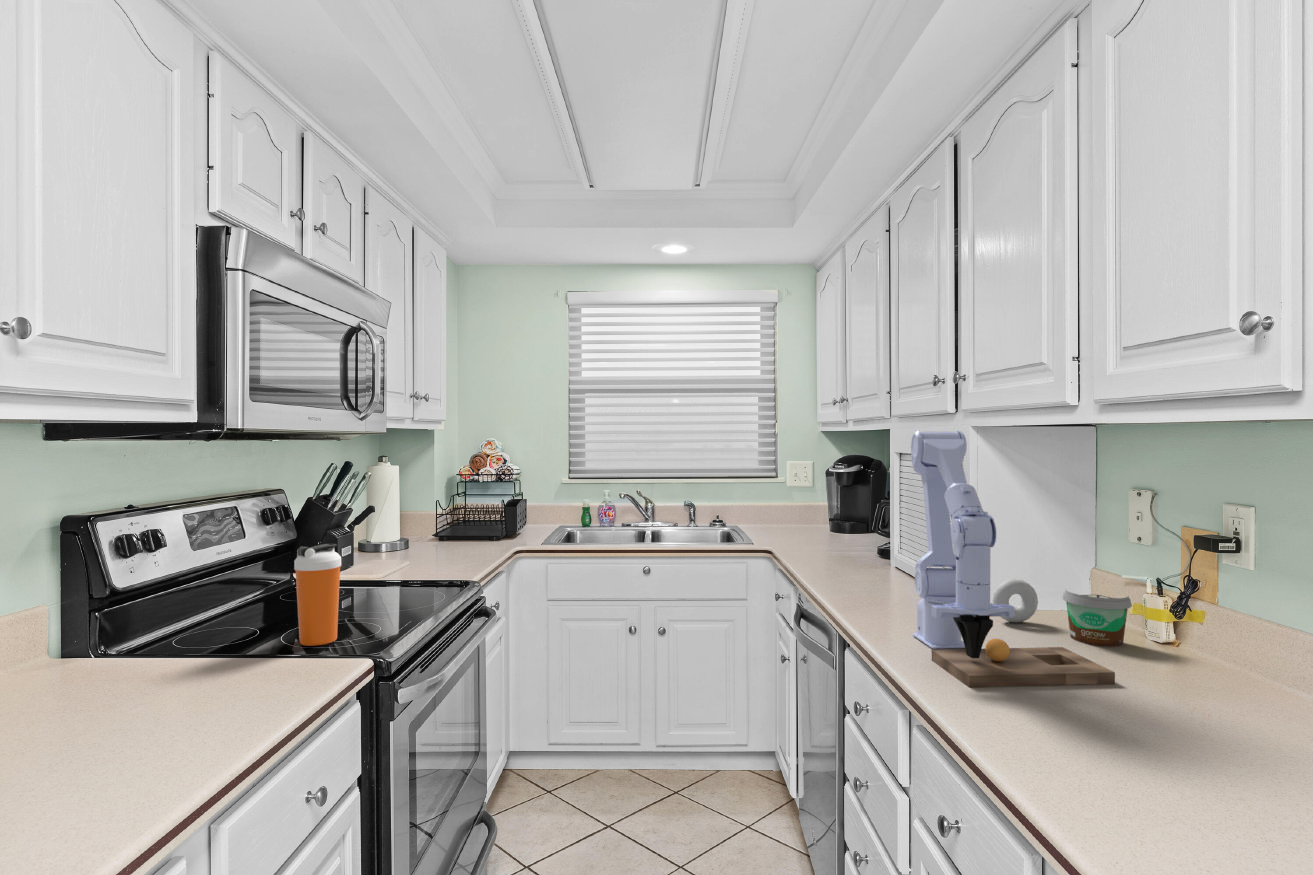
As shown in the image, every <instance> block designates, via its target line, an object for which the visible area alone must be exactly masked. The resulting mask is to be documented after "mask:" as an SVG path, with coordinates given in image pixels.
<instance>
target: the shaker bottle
mask: <svg viewBox="0 0 1313 875" xmlns="http://www.w3.org/2000/svg"><path fill="white" fill-rule="evenodd" d="M337 546H338V545H337V543H324V544H319V545H318V544H317V545H313V546H310V547H308V546H300V547H299V548H298V549H297V551H296V553H297V554H296V558H295V559H294V560H293V562H294V564H293V565H294V566H293V567H294V568H293V569H294V571H295V580H296V581H295V584H296V600H297V601H296V602H297V603H296V604H297V618H298V620H297V621H298V635H299V636H298V638H299V639H298V640H299V644H300V645H302V646H307V647H310V646H311V647H312V646H313V647H314V646H323V645H328V644H330V643H333V642H335V641H337V639H338V626H339V625H338V623H339V622H338V621H339V604H340V602H339V600H340V581H341V580H340V579H341V567H342V557H341V555H340V554H339V553H338V552H336V551H335V548H336V547H337Z"/></svg>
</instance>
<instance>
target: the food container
mask: <svg viewBox="0 0 1313 875" xmlns="http://www.w3.org/2000/svg"><path fill="white" fill-rule="evenodd" d="M1061 597H1062V600H1063V601H1065V603H1066V612H1067V618H1068V620H1067V621H1068V628H1069V636H1070V638H1071V639H1072V640H1074V641H1075V642H1079V643H1082V644H1085V645H1091V646H1096V647H1097V646H1098V647H1106V648H1108V647H1109V648H1113V647H1116V648H1117V647H1120V646H1122V645H1123V644H1124V640H1125V632H1126V625H1127V624H1126V623H1127V616H1128V610H1129V609H1130V608H1131V607H1132V601H1131V598H1130V596H1129V594H1128V595H1127V596H1125V597H1119V598H1118V597H1109V596H1104V595H1101V594H1077V593H1074V592H1071V591H1068V590H1067V589H1064V591H1063V594H1062V596H1061Z"/></svg>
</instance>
